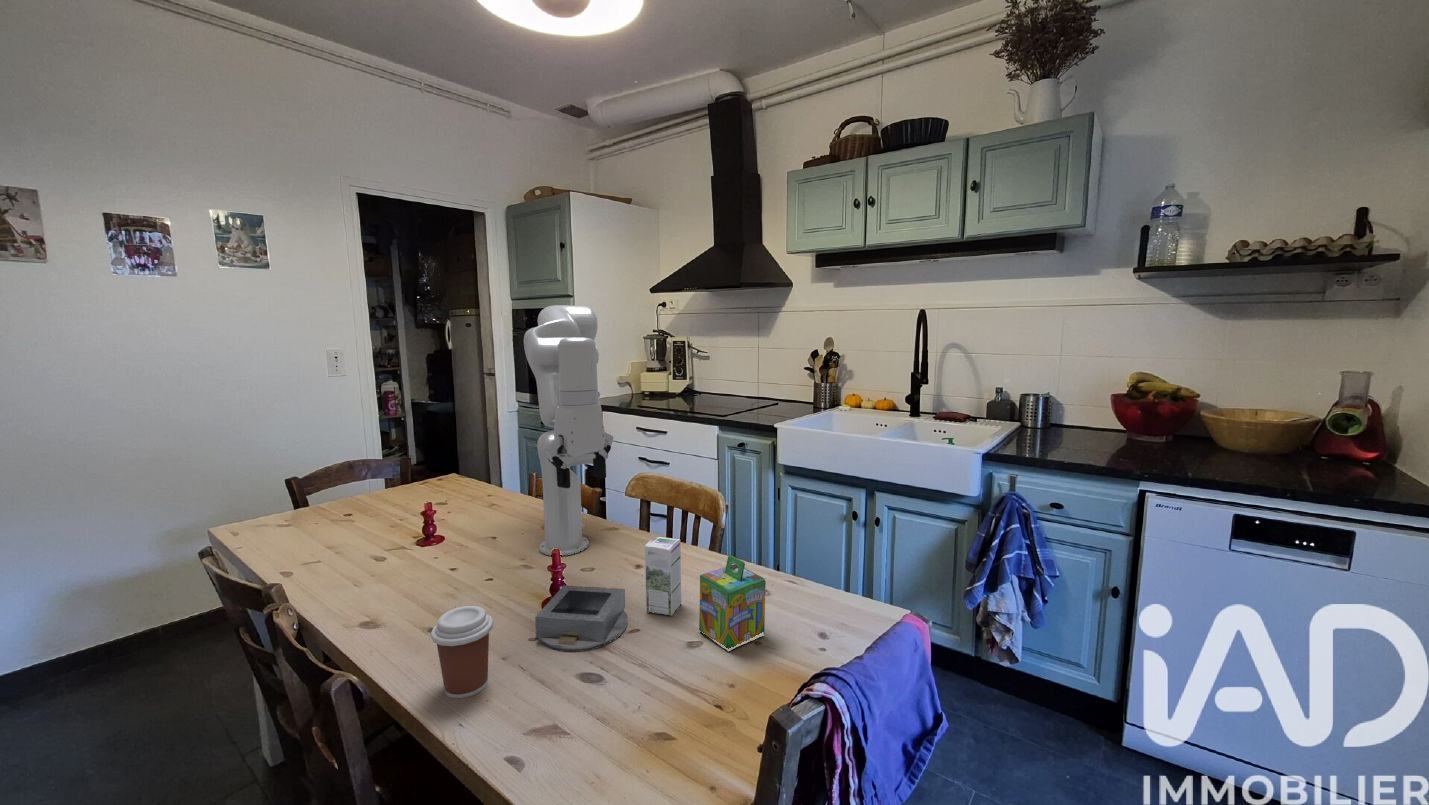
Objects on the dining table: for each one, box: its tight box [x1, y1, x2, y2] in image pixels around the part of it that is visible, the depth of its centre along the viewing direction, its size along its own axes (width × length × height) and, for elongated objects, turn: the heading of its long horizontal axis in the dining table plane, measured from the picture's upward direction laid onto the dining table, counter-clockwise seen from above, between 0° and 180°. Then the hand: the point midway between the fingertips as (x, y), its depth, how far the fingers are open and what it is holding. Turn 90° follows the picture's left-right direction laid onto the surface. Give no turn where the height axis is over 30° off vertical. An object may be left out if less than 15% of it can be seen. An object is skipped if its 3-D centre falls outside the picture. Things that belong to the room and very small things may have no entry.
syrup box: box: [644, 536, 683, 616], centre depth 115 cm, size 6×6×14 cm
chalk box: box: [698, 555, 767, 649], centre depth 105 cm, size 9×9×15 cm
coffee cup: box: [430, 605, 494, 699], centre depth 90 cm, size 9×9×12 cm
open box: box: [534, 585, 628, 652], centre depth 108 cm, size 17×17×5 cm
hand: (582, 482), depth 115 cm, fingers open, 9 cm apart
